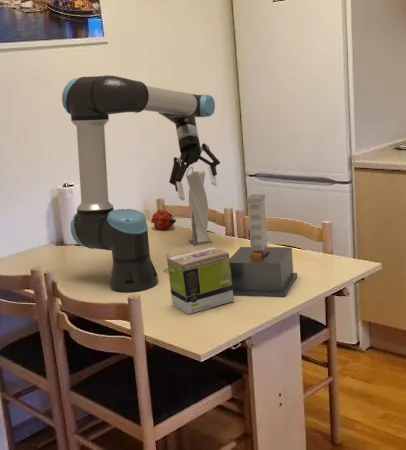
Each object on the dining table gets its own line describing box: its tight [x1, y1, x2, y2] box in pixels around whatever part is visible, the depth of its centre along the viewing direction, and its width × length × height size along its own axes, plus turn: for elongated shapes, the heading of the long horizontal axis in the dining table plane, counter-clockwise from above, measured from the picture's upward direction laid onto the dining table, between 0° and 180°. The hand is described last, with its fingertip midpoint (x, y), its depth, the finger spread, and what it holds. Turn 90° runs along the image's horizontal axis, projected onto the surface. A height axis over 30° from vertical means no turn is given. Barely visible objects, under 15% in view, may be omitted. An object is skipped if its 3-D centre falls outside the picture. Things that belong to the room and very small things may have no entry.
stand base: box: [229, 246, 298, 298], centre depth 208 cm, size 18×18×11 cm
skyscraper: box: [185, 166, 213, 246], centre depth 260 cm, size 8×8×28 cm
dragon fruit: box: [150, 209, 176, 231], centre depth 286 cm, size 8×8×12 cm
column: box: [245, 193, 268, 257], centre depth 206 cm, size 6×4×25 cm
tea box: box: [166, 246, 235, 315], centre depth 197 cm, size 15×10×15 cm, turn 118°
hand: (197, 191), depth 244 cm, fingers open, 13 cm apart
